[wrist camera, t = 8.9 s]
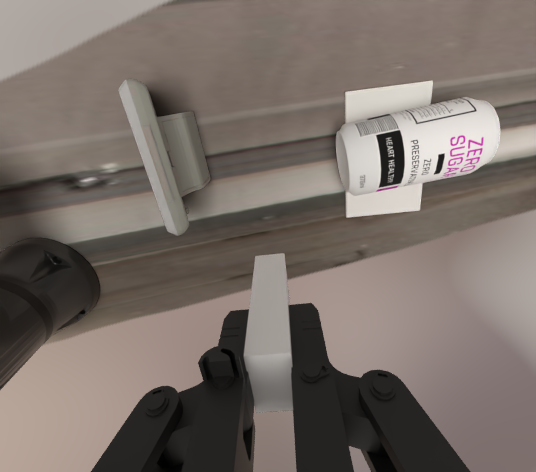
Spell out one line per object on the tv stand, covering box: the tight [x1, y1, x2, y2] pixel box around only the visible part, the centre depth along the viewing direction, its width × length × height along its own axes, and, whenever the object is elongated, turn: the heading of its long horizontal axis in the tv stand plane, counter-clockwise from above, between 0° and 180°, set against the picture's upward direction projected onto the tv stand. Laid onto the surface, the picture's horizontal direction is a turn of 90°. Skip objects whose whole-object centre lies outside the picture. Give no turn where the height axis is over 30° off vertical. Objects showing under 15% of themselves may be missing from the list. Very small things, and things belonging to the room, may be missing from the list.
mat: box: [345, 81, 433, 217], centre depth 38 cm, size 10×16×1 cm, turn 7°
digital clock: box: [119, 79, 211, 235], centre depth 34 cm, size 16×9×11 cm, turn 178°
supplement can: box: [336, 97, 500, 196], centre depth 34 cm, size 8×8×15 cm
